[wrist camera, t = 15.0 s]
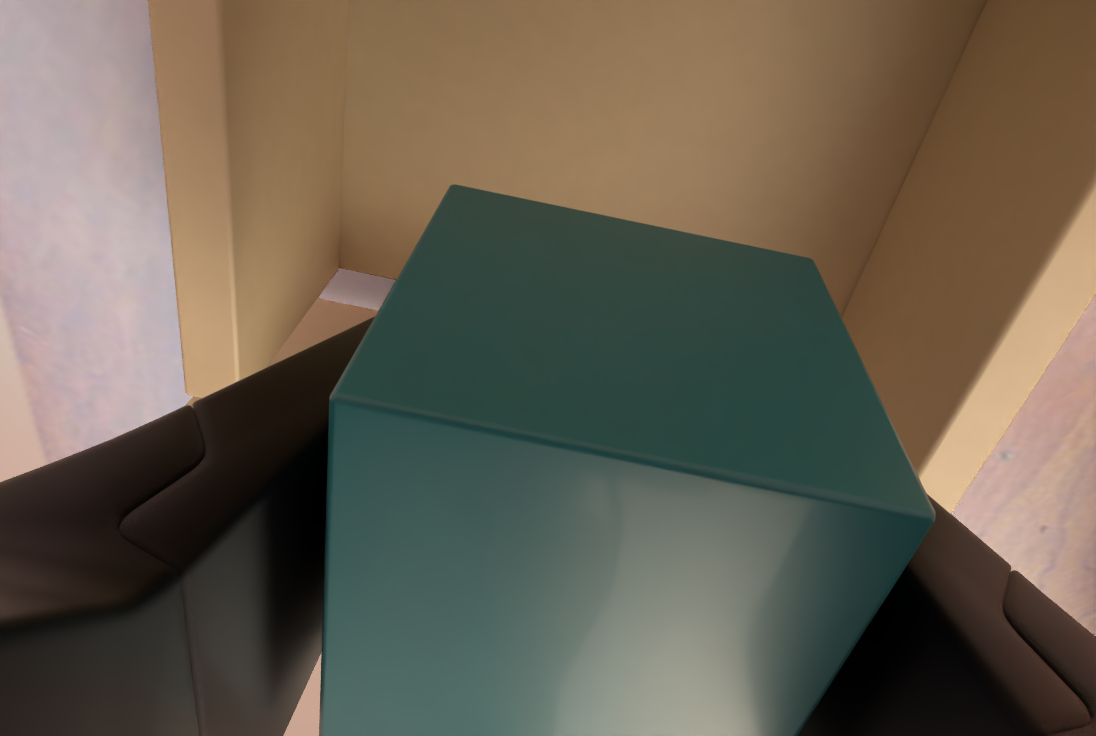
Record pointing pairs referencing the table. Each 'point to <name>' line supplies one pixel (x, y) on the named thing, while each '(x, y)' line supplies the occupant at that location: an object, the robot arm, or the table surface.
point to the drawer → (653, 166)
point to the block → (602, 486)
